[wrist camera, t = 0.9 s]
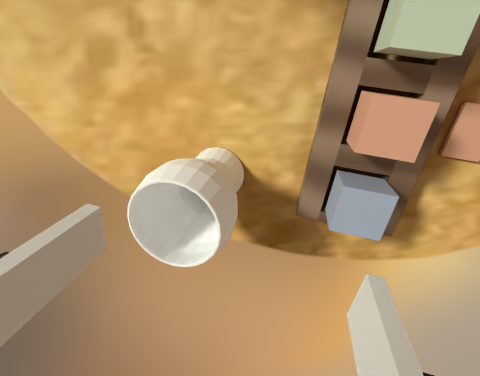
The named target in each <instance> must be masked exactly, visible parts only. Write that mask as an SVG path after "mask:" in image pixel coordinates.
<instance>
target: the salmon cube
mask: <svg viewBox="0 0 480 376" xmlns="http://www.w3.org/2000/svg"><path fill="white" fill-rule="evenodd" d="M439 105H440V103H438V102H433V101H427V100H422V99H417V98H410V97H403V96H396V95H389V94H382V93H375V92H368V91H361V94H360V98H359V101H358V104H357V107H356V111H355V114H354V117H353V120H352V124H351V127H350V130H349V133H348V137H347V140H346V141H347V143H348V144H349V145H350V147H351V148H352V150H353V151H354V152H355V153H361V154H366V155H372V156H377V157H383V158H389V159H394V160H400V161H406V162H411V163H414V162H415V160H416V158H417V155H418V153H419V151H420V149H421V146H422V144H423V142H424V139H425V137H426V135H427V133H428V130H429V128H430V126H431V123H432V121H433V119H434V117H435V114H436V112H437V110H438V108H439Z"/></svg>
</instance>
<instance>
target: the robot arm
mask: <svg viewBox="0 0 480 376" xmlns="http://www.w3.org/2000/svg"><path fill="white" fill-rule="evenodd" d="M104 250H106V245H105V237H104V229H103V221H102V213H101V207H99V206H95V205H91V204H86V205H84V206H83V207H81V208H80V209H78V210H76V211H75V212H73V213H72V214H70V215H69V216H67V217H65V218H64V219H62V220H61V221H59V222H57V223H56V224H54V225H53V226H51V227H50V228H48V229H46V230H45V231H44V232H42V233H40V234H38V235H37V236H35V237H34V238H32V239H30V240H29V241H28V242H26V243H24V244H23V245H21V246H19V247H18V248H16V249H15V250H13V251H11V252H10V253H9V252H5V253H2V254H0V346H2V345H3V344H4V343H5V342H6V341H7V340H8V339H9V338H10V337H11V336H12V335H14V334H15V333H16V332H17V331H18V330H19V329H20V328H21V327H22V326H23V325H24V324H25V323H27V321H29V320H30V319H31V318H32V317H33V316H34V315H35V314H36V313H37V312H38V311H40V309H42V308H43V307H44V306H45V305H46V304H47V303H48V302H49V301H50V300H51V299H52V298H54V297H55V296H56V295H57V294H58V293H59V292H60V291H61V290H62V289H63V288H64V287H65V286H67V285H68V284H69V283H70V282H71V281H72V280H73V279H74V278H75V277H76V276H77V275H78V274H80V273H81V272H82V271H83V270H84V269H85V268H86V267H87V266H88V265H89V264H90V263H91V262H92V261H94V260H95V259H96V258H97V257H98V256H99V255H100V254H101V253H102V252H103V251H104ZM347 319H348V324H349V330H350V335H351V341H352V346H353V351H354V357H355V362H356V368H357V374H358V376H434V375H430V374H427V373H423V372H422V371H421V368H420V366H419V363H418V361H417V358H416V356H415V353H414V350H413V348H412V345H411V343H410V340H409V338H408V335H407V333H406V330H405V328H404V325H403V323H402V320H401V317H400V315H399V312H398V310H397V307H396V305H395V302H394V300H393V297H392V295H391V292H390V290H389V287H388V285H387V282H386V280H385V278H383V277H379V276H375V275H371V274H366V276H365V278H364V280H363V282H362V285H361V286H360V289H359V291H358V293H357V295H356V297H355V299H354V301H353V303H352V305H351V307H350V309H349V312H348V314H347Z"/></svg>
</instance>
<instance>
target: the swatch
mask: <svg viewBox="0 0 480 376" xmlns="http://www.w3.org/2000/svg"><path fill="white" fill-rule="evenodd" d="M439 155H441V156H446V157H451V158H457V159H463V160H469V161H475V162H479V161H480V104H476V103H469V102H463V104H462V106H461V108H460V110H459V112H458V114H457V116H456V118H455V120H454V123H453V125H452V127H451V129H450V131H449V133H448V135H447V137H446V139H445V142H444V144H443V146H442V148H441V150H440V152H439Z"/></svg>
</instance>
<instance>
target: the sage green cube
mask: <svg viewBox="0 0 480 376" xmlns="http://www.w3.org/2000/svg"><path fill="white" fill-rule="evenodd" d="M479 14H480V0H389V4H388V7H387V10H386V13H385V17H384V20H383V23H382V26H381V30H380V33H379V36H378V39H377V43H376V46H375V49H374V52H377V53H385V54H393V55H401V56H409V57H417V58H425V59H438V58H446V57H453V56H461V55H462V53H463V51H464V48H465V46H466V44H467V41H468V39H469V37H470V35H471V32H472V30H473V28H474V26H475V23H476V21H477V19H478V16H479Z"/></svg>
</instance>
